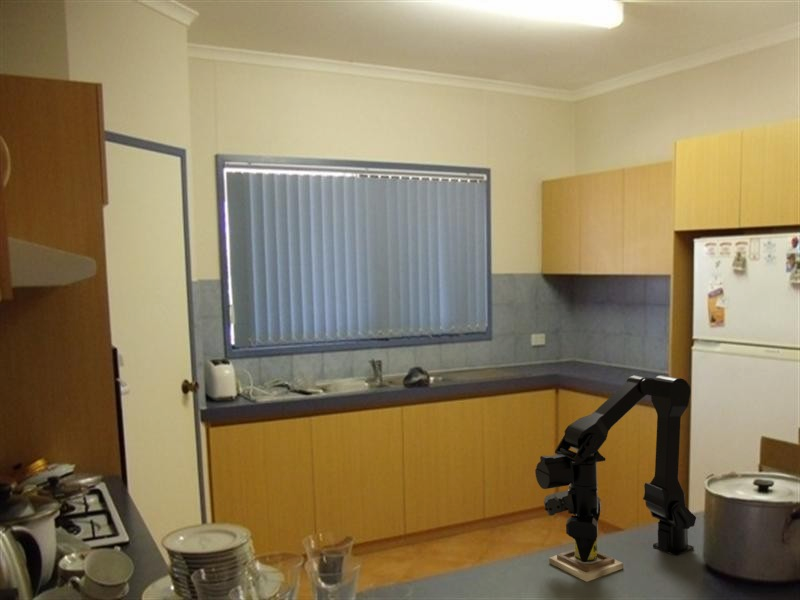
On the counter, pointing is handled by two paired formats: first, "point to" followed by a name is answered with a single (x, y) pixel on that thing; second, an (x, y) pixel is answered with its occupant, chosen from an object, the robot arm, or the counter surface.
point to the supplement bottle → (592, 556)
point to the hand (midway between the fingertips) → (585, 552)
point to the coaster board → (586, 565)
